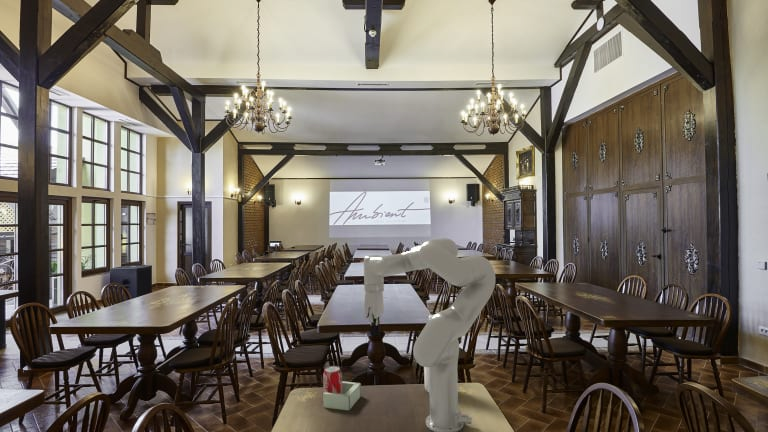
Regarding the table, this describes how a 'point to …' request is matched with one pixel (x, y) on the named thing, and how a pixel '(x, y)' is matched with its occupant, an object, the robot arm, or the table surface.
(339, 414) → the table surface
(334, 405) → the collar
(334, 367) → the soda can
